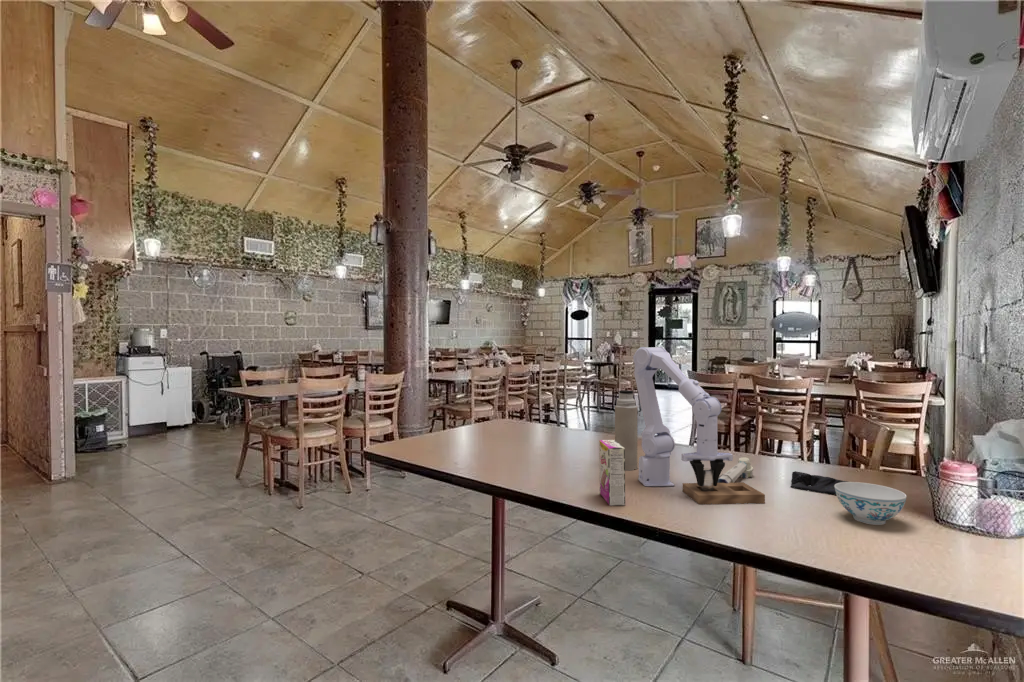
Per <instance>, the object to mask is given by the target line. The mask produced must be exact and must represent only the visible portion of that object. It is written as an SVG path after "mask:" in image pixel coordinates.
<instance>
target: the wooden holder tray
mask: <svg viewBox="0 0 1024 682" xmlns="http://www.w3.org/2000/svg"><path fill="white" fill-rule="evenodd" d="M681 486H682V493H684V494H685V495H687V497H689V498H690V499H691V498H692V499H691V500H693V501H694V502H695V501H696V502H697V503H696V502H695V503H696V504H698V505H736V503H741V505H742V504H744V503H747V505H749V504H748V503H756V504H766V494H765V493H763V492H761V491H759V490H757V489H756V488H755V487H752V486H751V485H749V484H747V483H745V482H741V481H740V482H734V483H728V484H727V483H717V486H714V491H701V490H700V486H699V485H698V484H697V482H683V483H682V485H681ZM711 503H712V504H711ZM744 505H745V504H744Z"/></svg>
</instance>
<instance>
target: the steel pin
mask: <svg viewBox="0 0 1024 682" xmlns="http://www.w3.org/2000/svg"><path fill="white" fill-rule="evenodd" d="M700 490H701V491H714V470H713V469H711V468H709V467H708V468H707V467H704V469H703V486H700Z"/></svg>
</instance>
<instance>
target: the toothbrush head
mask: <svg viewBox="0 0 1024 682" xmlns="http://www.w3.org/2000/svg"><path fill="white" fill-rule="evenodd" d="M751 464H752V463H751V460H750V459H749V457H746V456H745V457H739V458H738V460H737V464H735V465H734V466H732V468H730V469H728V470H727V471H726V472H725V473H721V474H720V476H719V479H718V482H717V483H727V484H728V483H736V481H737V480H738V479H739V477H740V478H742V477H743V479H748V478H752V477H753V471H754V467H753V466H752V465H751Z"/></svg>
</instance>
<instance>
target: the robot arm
mask: <svg viewBox="0 0 1024 682" xmlns="http://www.w3.org/2000/svg"><path fill="white" fill-rule="evenodd" d="M671 357H672V356H671V353H669V352H668V351H667V350H666V348H664V347H663V346H657V347H654V346H653V347H652V346H651V347H645V346H640V347H639V348H637V350H636V351H635V352H634V354H633V356H632V359H633V363H634V373H633V374H634V379H635V380H634V381H635V384H636V389H637V391H638V392H637V393H638V397H639V402H640V406H641V411H642V415H643V419H644V420H643V421H644V425H645V427H644V429H643V431H642V432H641V449H642V451H643V452H644V455H640V456H639V458H638V479H637V480H638V481H639V482H640V483H641V484H642V485H643V486H644V487H673V486H674V487H675V483H673V482H672V481H671V476H670V474H671V473H670V472H671V471H670V469H671V466H670V465H671V459H670V458H671V455H672V452H673V451H674V450H675V447H676V446H675V445H676V442H675V440H674V438H673V436H672V435H671V432H670V429H669V427H668V426H666V425H665V424H664V423H663V419H662V413H661V409H660V404H659V401H658V397H657V392H656V389H655V383H654V379H653V377H654V375H655V374H656V372H658V370H661V371H663V372H664V373H665V374H666V375H667V376H668V377H669V378H670V379H671V380H672V381H673V382H674V383H675V384H676V385H677V386H678V393H680V394H681V396H682V397H683V398H684V399H685V400H686V401H687V402H688V403H689V405H691V407H692V408H691V409H692V413H693V415H694V416H695V422H696V451H695V452H686V453H681V461H683V462H689V463H690V465H691V468H692V469H693V472H694V475H695V479H696V483H697V484H698V485H699V486H703V469H704V468H705V464H704V463H703V461H704V462H705V461H706V462H709V465H710V469H713V470H714V486H717V482H718V479H719V476H720V475H721V474H722V472H723V469H724V468H726V467H725V466H726V462H724V461H728V462H733V461H734V454H732V453H731V452H718V428H719V427H718V416H719V415H720V414H721V413H722V411H723V410H722V408H723V407H722V404H721V402H720V400H719V399H718V398H717V397H715V396H710V394H709V393H708V392H707V391H705V390H704V388H703V387H701V386H700V382H699V381H698V380H697V379H694V378H688V377H687V376H686V375H685V374H684V373H683V371H682V370H681V368H680V367H679V366H678V365H677V364H676V363H675V361H674V360H673V359H672V358H671Z"/></svg>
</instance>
